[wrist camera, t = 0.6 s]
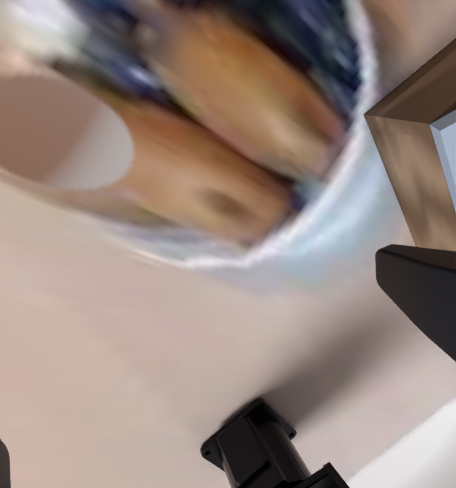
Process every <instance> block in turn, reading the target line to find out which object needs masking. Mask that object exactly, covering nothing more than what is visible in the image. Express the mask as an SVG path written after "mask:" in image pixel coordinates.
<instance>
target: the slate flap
mask: <svg viewBox="0 0 456 488" xmlns="http://www.w3.org/2000/svg"><path fill="white" fill-rule="evenodd" d="M430 128H431V131H432V134H433V138H434V141H435V145H436V148H437V151H438V155H439V158H440V161H441V165H442V168H443V172H444V175H445V178H446V182H447V185H448V189H449V192H450V195H451V199H452V202H453V205H454V209H455V212H456V110H455V111H453V112H451V113H449V114H447V115H446V116H444V117H442V118H440V119H438V120H437V121H435V122H433V123H431V124H430Z"/></svg>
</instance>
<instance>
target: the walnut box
mask: <svg viewBox="0 0 456 488" xmlns="http://www.w3.org/2000/svg"><path fill="white" fill-rule="evenodd" d="M455 110H456V39H455V40H453V41H452V42H451V43H450V44H449V45H447V46H446V47H445V48H444V49H443V50H441V51H440V52H439V53H438V54H437V55H435V56H434V57H433V58H432V59H431V60H429V61H428V62H427V63H426V64H425V65H423V66H422V67H421V68H420V69H419V70H417V71H416V72H415V73H414V74H412V75H411V76H410V77H409V78H408V79H406V80H405V81H404V82H403V83H402V84H400V85H399V86H398V87H397V88H396V89H394V90H393V91H392V92H391V93H390V94H388V95H387V96H386V97H385V98H384V99H382V100H381V101H380V102H379V103H378V104H376V105H375V106H374V107H373V108H371V109H370V110H369V111H368V112H367V113H365V114H364V116H365V119H366V121H367V124H368V126H369V129H370V131H371V134H372V136H373V139H374V141H375V144H376V146H377V149H378V151H379V154H380V156H381V159H382V161H383V164H384V166H385V169H386V171H387V174H388V176H389V179H390V181H391V184H392V186H393V189H394V191H395V194H396V196H397V199H398V201H399V204H400V206H401V209H402V211H403V214H404V216H405V219H406V221H407V224H408V226H409V229H410V232H411V234H412V237H413V239H414V242H415V244H416V247H422V248H431V249H440V250H449V251H456V212H455V209H454V205H453V202H452V199H451V195H450V192H449V189H448V185H447V182H446V178H445V175H444V172H443V168H442V165H441V161H440V158H439V155H438V151H437V148H436V145H435V141H434V138H433V134H432V131H431V128H430V124H431V123H433V122H435V121H437V120H438V119H440V118H442V117H444V116H446V115H447V114H449V113H451V112H453V111H455Z"/></svg>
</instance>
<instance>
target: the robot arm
mask: <svg viewBox="0 0 456 488" xmlns="http://www.w3.org/2000/svg"><path fill="white" fill-rule="evenodd" d="M375 261H376V279H377V282H378V285H379V286H380V288H381V289H382V290H383V291H384V292H385V293H386V294H387V295H388V296H389V297H390V298H391V299H392V301H393V302H394V303H395V304H396V305H397V306H398V307H399V308H400V309H401V310H402V311H403V312H404V313H405V314H406V315H407V317H408V318H409V319H410V320H411V321H412V322H413V323H414V324H415V325H416V326H417V327H418V328H419V329H420V330H421V331H422V332H423V333H424V334H425V335H426V336H427V337H428V338H429V339H431V340H432V341H433V342H434V343H435V344H436V345H437V346H438V347H440V348H441V349H442V350H443V351H444V352H445V353H446V354H448V355H449V356H450V357H451V358H452V359H453V360H454V361H456V251H449V250H440V249H431V248H422V247H413V246H405V245H396V244H391V245H388V246H386V247H383V248H381V249H379V250H378V251H377V252H376V254H375ZM295 436H296V431H295V429H294V427H292V426H291V425H290V424H289V423H288V422H287V421H286V420H285V419H284V418H283V417H282V416H281V415H280V414H279V413H278V412H277V411H276V410H275V409H273V408H272V407H271V406H270V405H269V404H268V403H267V402H266V401H265V400H264V399H258V400H256V401H255V402H254V403H253V404H251V405H250V406H249V407H248V408H247V409H246V410H244V411H243V412H242V413H241V414H240V415H239V416H237V417H236V418H235V419H234V420H233V421H232V422H230V423H229V424H228V425H227V426H226V427H225V428H223V429H222V430H221V431H220V432H219V433H218V434H216V435H215V436H214V437H213V438H212V439H211V440H209V441H208V442H207V443H206V444H205V445H204V446H202V448H201V449H200V452H201V455H202V457H203V458H205V459H206V460H208V461H209V462H211V463H213V464H214V465H216V466H217V467H219V468H220V469H222V470H223V471H225V473H226V475H227V478H228V480H229V483H230V485H231V488H349V486H348V485H347V484H346V483H345V481H344V480H343V479H342V477H341V476H340V475H339V474H338V472H337V471H336V470H335V468H334V467H333V466H332V465H331V463H330V462H328V463H327V464H325V465H324V466H323V468H322V469H320V470H318V471H317V472H315V473H314V474H312V475H311V473H310V471H309V470H308V468H307V467H306V465H305V463H304V462H303V460H302V458H301V457H300V455H299V453H298V452H297V450H296V449H295V447H294V445H293V444H292V442H291V439H293V438H294V437H295ZM0 488H11V482H10V458H9V453H8V450H7V447H6V446H5V444H4V443H3V442H2V440H1V439H0Z"/></svg>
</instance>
